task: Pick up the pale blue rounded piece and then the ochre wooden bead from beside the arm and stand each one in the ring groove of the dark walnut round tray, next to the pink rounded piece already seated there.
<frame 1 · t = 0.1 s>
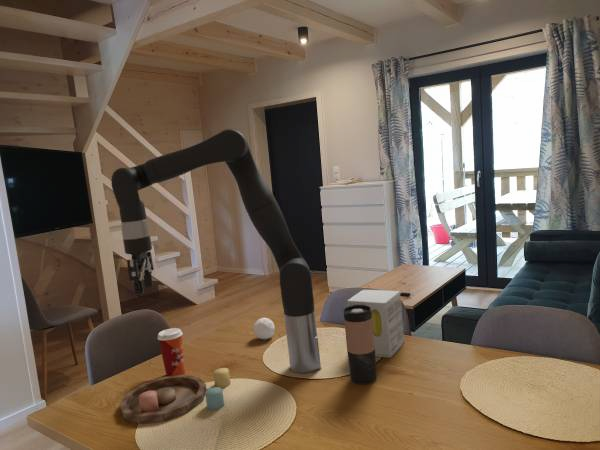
hand: (144, 289, 133), 29 cm above the table, fingers open, 8 cm apart
paper cup: (175, 374, 142), on the table
geometric ball: (265, 338, 165), on the table
travel mug: (363, 379, 125), on the table
walnut tray: (165, 404, 123), on the table
pink rounded piece: (150, 412, 117), point 1 cm above the table, touching walnut tray
supplement box: (378, 348, 145), on the table
ochre bead: (223, 387, 129), on the table
pale blue rounded piece: (216, 409, 117), on the table
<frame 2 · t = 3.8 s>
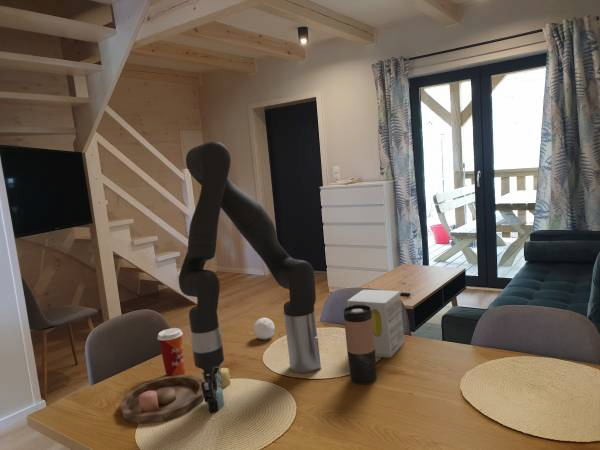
hand: (215, 408, 117), 0 cm above the table, fingers closed on pale blue rounded piece, 4 cm apart
pale blue rounded piece: (216, 409, 117), on the table, touching gripper
everything else where it was.
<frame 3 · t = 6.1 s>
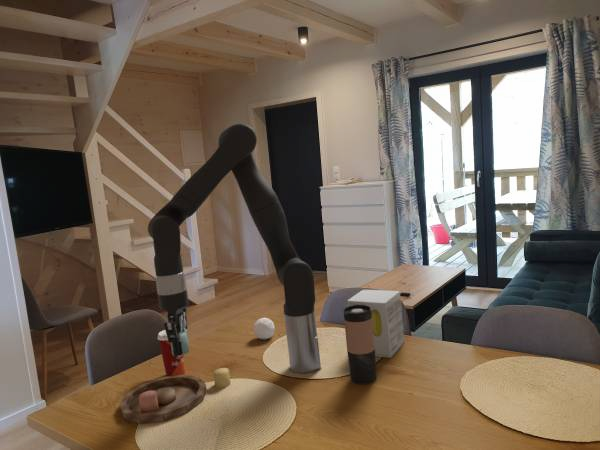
hand: (180, 351, 121), 14 cm above the table, fingers closed on pale blue rounded piece, 4 cm apart
pale blue rounded piece: (180, 352, 121), point 14 cm above the table, touching gripper
everything else where it was.
when the fingers open (2 cm above the table, at t = 8.6 s): pale blue rounded piece stays where it is, resting on walnut tray.
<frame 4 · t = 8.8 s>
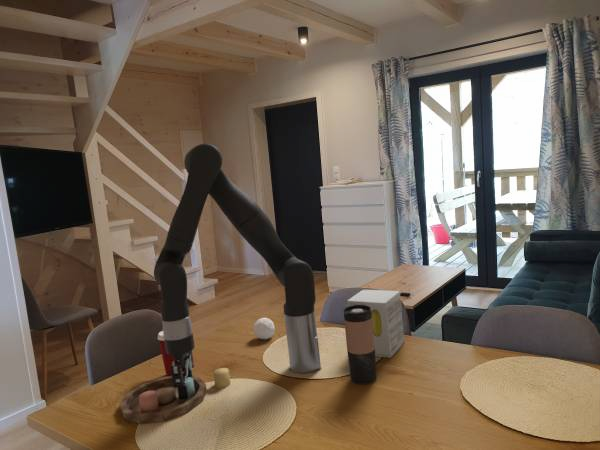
hand: (186, 392, 123), 3 cm above the table, fingers open, 6 cm apart
pale blue rounded piece: (187, 398, 123), point 1 cm above the table, touching walnut tray
everything else where it was.
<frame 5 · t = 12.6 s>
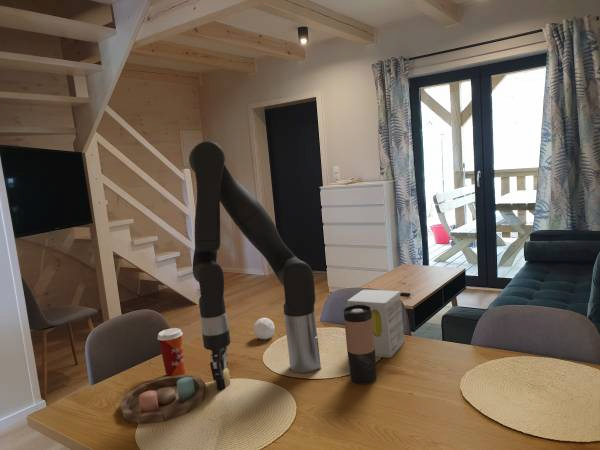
hand: (223, 386, 129), 0 cm above the table, fingers closed on ochre bead, 4 cm apart
ochre bead: (223, 387, 129), on the table, touching gripper
everything else where it was.
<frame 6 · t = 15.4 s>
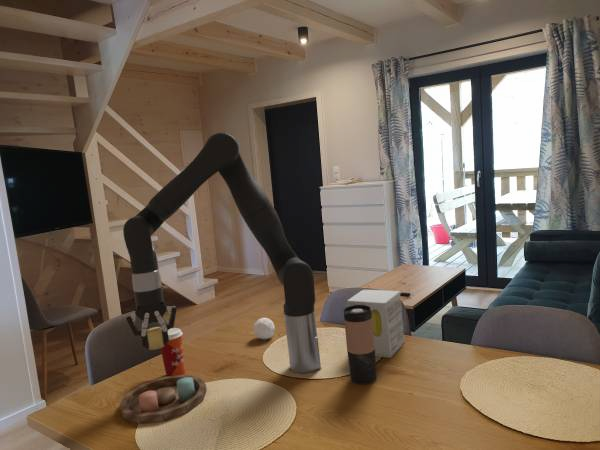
hand: (156, 345, 127), 15 cm above the table, fingers closed on ochre bead, 4 cm apart
ochre bead: (156, 346, 127), point 14 cm above the table, touching gripper
everything else where it was.
when the fingers open (2 cm above the table, at t = 17.9 s): ochre bead stays where it is, resting on walnut tray.
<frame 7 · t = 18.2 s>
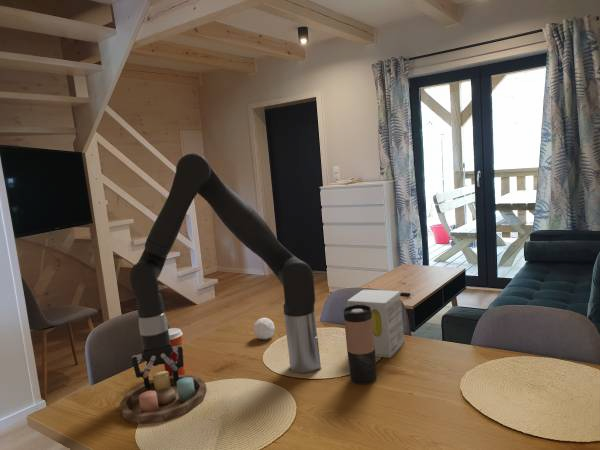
hand: (162, 385, 128), 3 cm above the table, fingers open, 6 cm apart
ochre bead: (163, 391, 129), point 1 cm above the table, touching walnut tray
everything else where it was.
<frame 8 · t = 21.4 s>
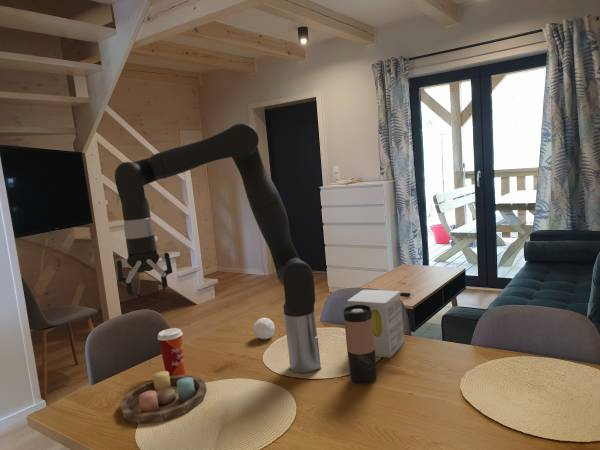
hand: (148, 292, 125), 30 cm above the table, fingers open, 8 cm apart
nothing on the table moved.
at the end: pale blue rounded piece 0.1 cm from the target spot on the walnut tray, point 1.0 cm above the walnut tray's base; ochre bead 0.1 cm from the target spot on the walnut tray, point 1.0 cm above the walnut tray's base; ochre bead tilted 0° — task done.
